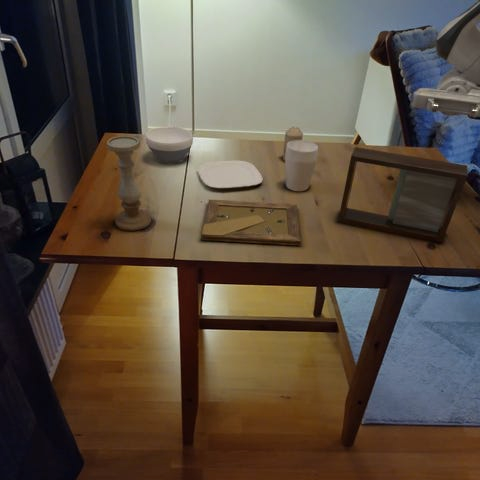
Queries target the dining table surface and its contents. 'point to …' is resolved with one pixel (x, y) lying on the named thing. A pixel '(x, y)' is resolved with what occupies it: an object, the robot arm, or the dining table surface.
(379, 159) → the frame
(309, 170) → the cup
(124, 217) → the candle holder
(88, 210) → the dining table surface
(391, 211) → the door
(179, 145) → the bowl
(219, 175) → the plate
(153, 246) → the dining table surface
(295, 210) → the picture frame
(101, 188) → the dining table surface
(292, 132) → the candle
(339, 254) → the dining table surface
